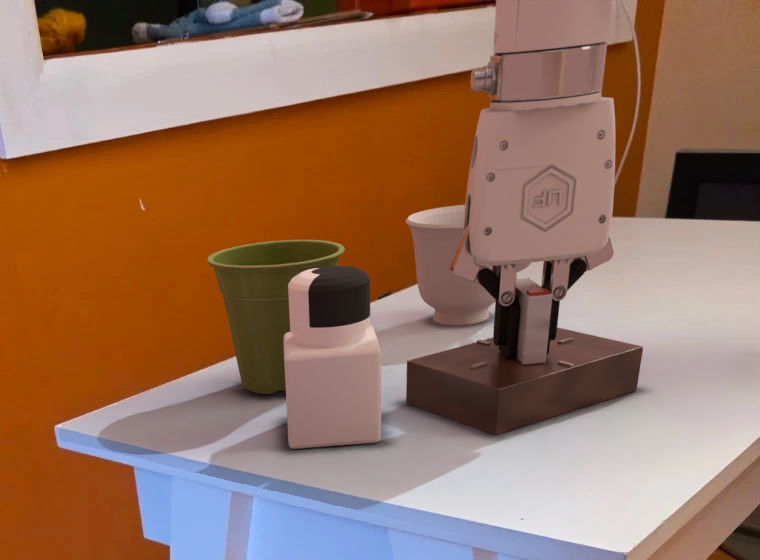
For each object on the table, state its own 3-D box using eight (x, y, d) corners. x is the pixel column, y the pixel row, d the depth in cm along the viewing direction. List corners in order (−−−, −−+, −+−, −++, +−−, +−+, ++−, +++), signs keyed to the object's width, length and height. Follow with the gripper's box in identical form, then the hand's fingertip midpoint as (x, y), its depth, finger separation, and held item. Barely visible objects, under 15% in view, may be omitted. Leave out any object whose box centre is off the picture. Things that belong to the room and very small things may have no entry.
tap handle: (501, 343, 80) (506, 276, 77) (523, 341, 80) (529, 274, 77) (522, 365, 75) (528, 293, 72) (545, 362, 75) (553, 291, 72)
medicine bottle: (373, 413, 79) (373, 256, 72) (381, 443, 74) (382, 276, 67) (287, 420, 80) (279, 265, 73) (289, 450, 74) (280, 285, 67)
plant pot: (320, 407, 82) (316, 265, 76) (197, 401, 87) (183, 267, 80) (363, 367, 90) (363, 236, 84) (249, 363, 95) (240, 239, 89)
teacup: (487, 344, 93) (495, 230, 87) (380, 323, 103) (380, 220, 97) (567, 317, 98) (579, 208, 92) (457, 300, 108) (462, 201, 103)
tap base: (539, 364, 86) (543, 321, 84) (637, 390, 78) (644, 344, 76) (405, 403, 81) (406, 358, 79) (495, 435, 73) (499, 386, 71)
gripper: (443, 95, 64) (433, 375, 75) (683, 69, 63) (639, 354, 74) (423, 91, 70) (416, 350, 81) (641, 66, 69) (606, 331, 80)
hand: (523, 350), depth 77 cm, fingers closed on tap handle, 2 cm apart
